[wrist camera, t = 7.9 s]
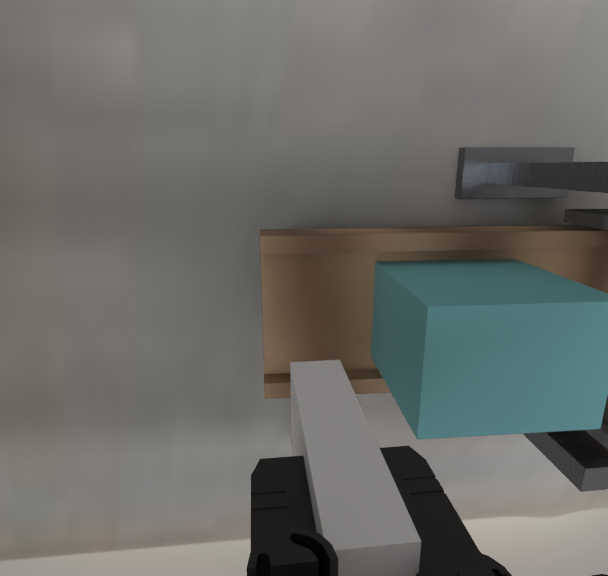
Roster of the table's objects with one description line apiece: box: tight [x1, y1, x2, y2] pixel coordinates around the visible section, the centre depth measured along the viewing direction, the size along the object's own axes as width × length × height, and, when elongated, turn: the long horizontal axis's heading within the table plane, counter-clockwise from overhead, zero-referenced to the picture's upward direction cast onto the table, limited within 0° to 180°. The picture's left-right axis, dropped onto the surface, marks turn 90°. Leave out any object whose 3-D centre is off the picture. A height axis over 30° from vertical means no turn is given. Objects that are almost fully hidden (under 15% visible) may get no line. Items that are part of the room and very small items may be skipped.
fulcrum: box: [455, 148, 608, 492], centre depth 23 cm, size 7×16×12 cm, turn 0°
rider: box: [371, 259, 608, 439], centre depth 18 cm, size 7×5×7 cm
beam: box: [260, 209, 608, 449], centre depth 23 cm, size 32×11×11 cm, turn 90°
